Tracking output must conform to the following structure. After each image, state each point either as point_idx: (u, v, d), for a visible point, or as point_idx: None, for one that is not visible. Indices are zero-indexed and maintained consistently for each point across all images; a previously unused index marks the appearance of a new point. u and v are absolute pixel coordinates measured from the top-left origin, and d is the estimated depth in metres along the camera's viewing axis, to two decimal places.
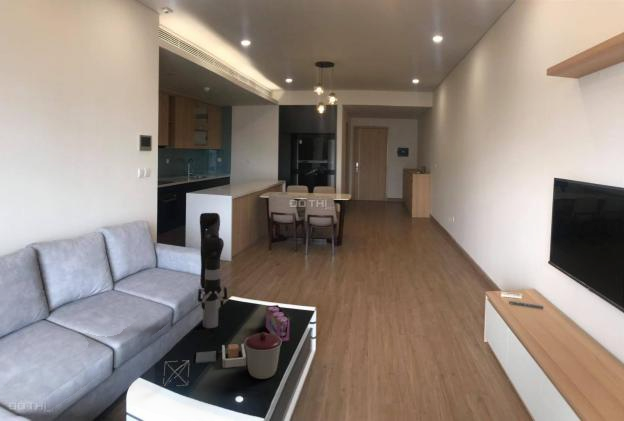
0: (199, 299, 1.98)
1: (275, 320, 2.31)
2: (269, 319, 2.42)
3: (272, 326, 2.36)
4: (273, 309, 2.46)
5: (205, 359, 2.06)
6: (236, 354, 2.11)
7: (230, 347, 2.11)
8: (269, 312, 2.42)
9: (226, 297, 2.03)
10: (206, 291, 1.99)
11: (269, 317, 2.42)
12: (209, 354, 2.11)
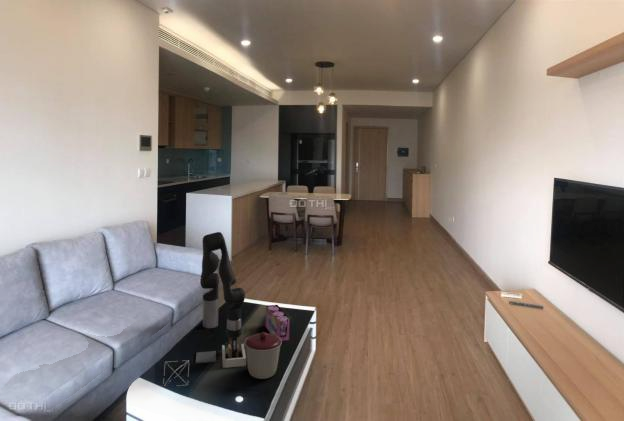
0: (236, 350, 2.05)
1: (275, 319, 2.31)
2: (269, 319, 2.42)
3: (272, 326, 2.37)
4: (273, 308, 2.46)
5: (205, 359, 2.06)
6: (236, 354, 2.11)
7: (230, 347, 2.11)
8: (269, 312, 2.43)
9: None
10: None
11: (269, 317, 2.42)
12: (209, 354, 2.11)
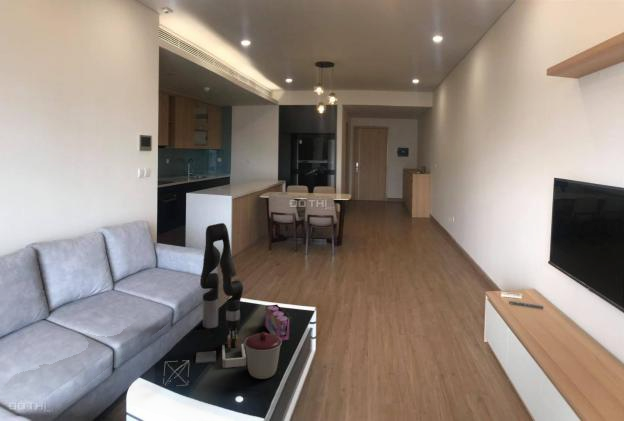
0: None
1: (275, 319, 2.31)
2: (269, 319, 2.42)
3: (272, 325, 2.37)
4: (272, 308, 2.46)
5: (205, 359, 2.06)
6: (235, 344, 2.22)
7: (229, 337, 2.22)
8: (269, 311, 2.43)
9: None
10: (235, 331, 2.15)
11: (269, 317, 2.43)
12: (209, 354, 2.11)
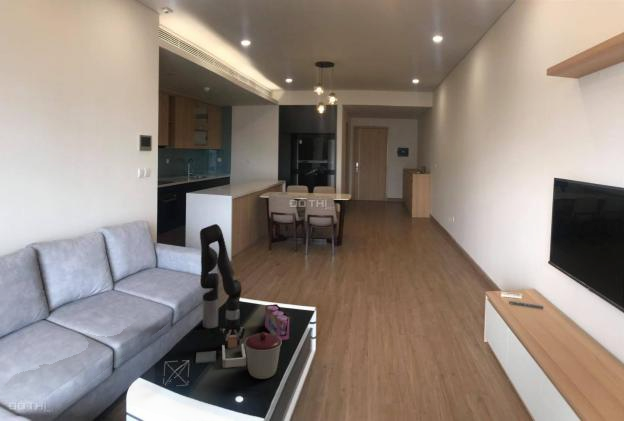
0: None
1: (275, 319, 2.32)
2: (269, 318, 2.43)
3: (272, 325, 2.38)
4: (272, 308, 2.47)
5: (205, 359, 2.06)
6: (235, 344, 2.22)
7: (229, 337, 2.22)
8: (268, 311, 2.43)
9: None
10: None
11: (268, 316, 2.43)
12: (209, 354, 2.11)
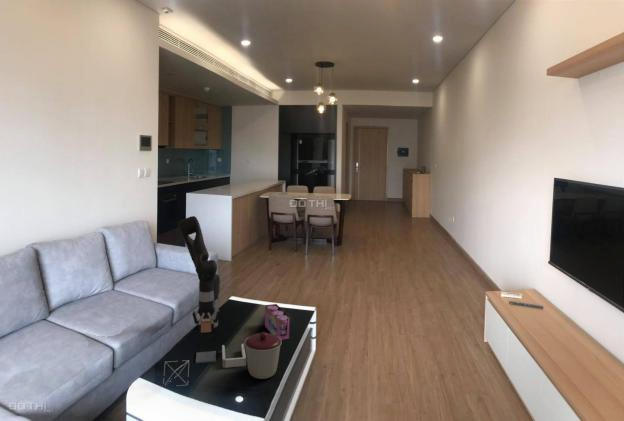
0: None
1: (276, 318, 2.32)
2: (268, 318, 2.43)
3: (272, 325, 2.38)
4: (272, 307, 2.47)
5: (205, 359, 2.06)
6: (209, 329, 2.06)
7: (203, 321, 2.07)
8: (268, 311, 2.44)
9: None
10: None
11: (268, 316, 2.43)
12: (209, 354, 2.11)
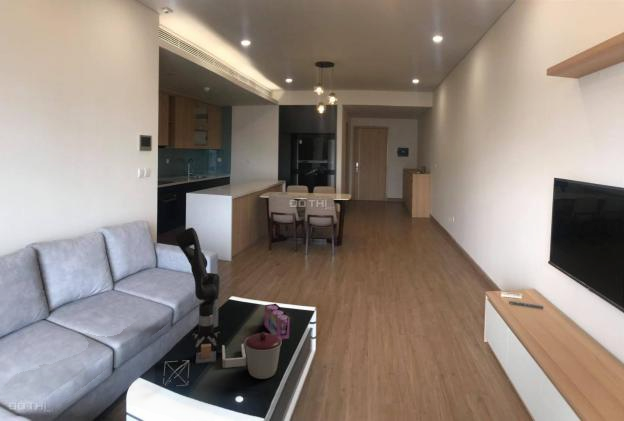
0: None
1: (276, 318, 2.33)
2: (268, 318, 2.44)
3: (272, 324, 2.39)
4: (272, 307, 2.48)
5: (205, 359, 2.06)
6: (209, 354, 2.08)
7: (202, 347, 2.08)
8: (268, 311, 2.44)
9: None
10: None
11: (268, 316, 2.44)
12: None
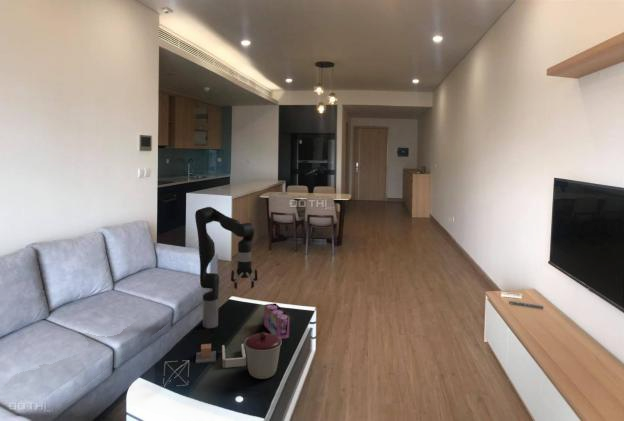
0: None
1: (276, 318, 2.34)
2: (268, 317, 2.44)
3: (272, 324, 2.39)
4: (271, 307, 2.48)
5: (205, 359, 2.06)
6: (209, 354, 2.08)
7: (202, 347, 2.08)
8: (268, 310, 2.45)
9: None
10: None
11: (268, 316, 2.44)
12: None
